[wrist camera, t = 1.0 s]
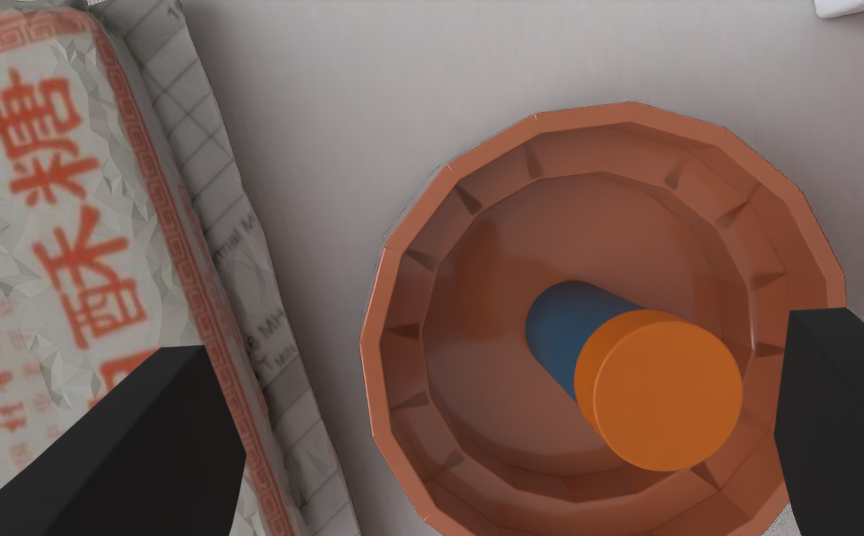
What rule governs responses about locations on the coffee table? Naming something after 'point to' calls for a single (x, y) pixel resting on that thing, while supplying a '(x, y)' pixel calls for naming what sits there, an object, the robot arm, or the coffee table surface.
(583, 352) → the glue stick
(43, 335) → the packaged product
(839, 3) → the ink cartridge box
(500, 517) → the bowl
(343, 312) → the coffee table surface
